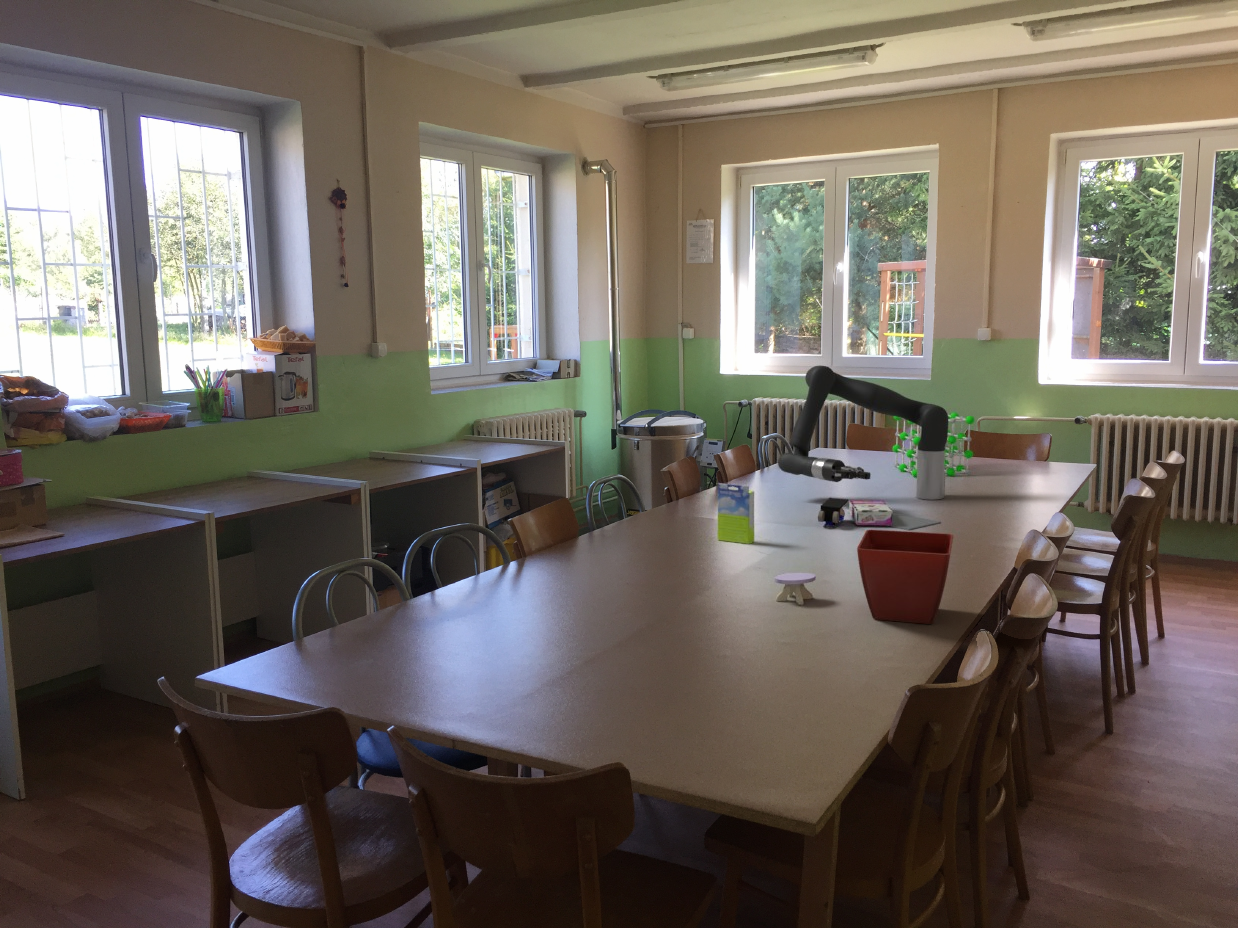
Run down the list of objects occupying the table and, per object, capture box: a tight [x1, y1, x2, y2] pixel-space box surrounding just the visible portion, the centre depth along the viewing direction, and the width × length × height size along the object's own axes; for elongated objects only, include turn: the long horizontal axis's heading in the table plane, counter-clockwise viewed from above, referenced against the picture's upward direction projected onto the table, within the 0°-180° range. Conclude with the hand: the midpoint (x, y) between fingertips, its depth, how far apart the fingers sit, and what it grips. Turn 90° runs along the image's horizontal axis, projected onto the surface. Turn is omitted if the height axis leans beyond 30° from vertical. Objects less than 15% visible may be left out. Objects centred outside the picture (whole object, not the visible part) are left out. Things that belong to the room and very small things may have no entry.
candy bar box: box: [848, 499, 894, 526], centre depth 310 cm, size 11×5×16 cm
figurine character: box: [817, 497, 849, 529], centre depth 307 cm, size 7×8×15 cm
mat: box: [885, 512, 942, 531], centre depth 310 cm, size 16×18×1 cm
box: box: [717, 482, 755, 545], centre depth 286 cm, size 11×4×17 cm, turn 58°
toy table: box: [774, 572, 817, 606], centre depth 229 cm, size 10×9×6 cm
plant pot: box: [856, 529, 954, 625], centre depth 216 cm, size 19×19×17 cm
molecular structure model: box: [892, 412, 975, 478], centre depth 399 cm, size 24×25×24 cm
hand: (869, 476), depth 318 cm, fingers closed
